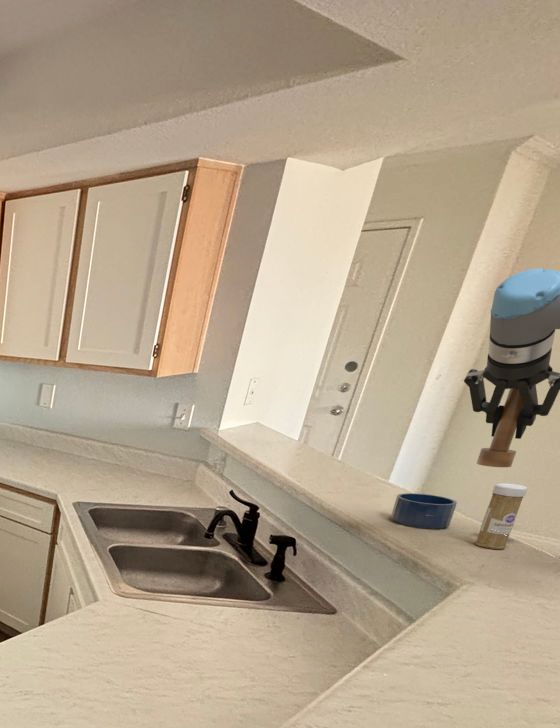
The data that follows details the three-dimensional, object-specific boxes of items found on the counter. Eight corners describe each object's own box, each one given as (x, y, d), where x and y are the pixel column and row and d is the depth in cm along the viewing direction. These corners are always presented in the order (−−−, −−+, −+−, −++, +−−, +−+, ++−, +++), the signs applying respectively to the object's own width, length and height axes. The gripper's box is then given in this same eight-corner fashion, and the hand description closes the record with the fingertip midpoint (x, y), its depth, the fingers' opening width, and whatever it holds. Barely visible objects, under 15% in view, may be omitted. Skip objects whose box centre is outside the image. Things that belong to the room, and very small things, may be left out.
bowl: (450, 522, 140) (458, 498, 138) (446, 532, 133) (455, 507, 131) (393, 514, 147) (400, 491, 145) (387, 523, 140) (394, 499, 138)
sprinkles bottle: (493, 551, 122) (516, 488, 118) (468, 543, 126) (489, 483, 122) (511, 548, 123) (534, 486, 118) (485, 541, 127) (506, 481, 123)
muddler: (511, 464, 118) (544, 369, 112) (511, 468, 115) (545, 371, 109) (476, 461, 121) (507, 368, 115) (476, 465, 118) (507, 370, 112)
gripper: (449, 365, 110) (447, 442, 124) (579, 367, 97) (560, 452, 111) (466, 334, 111) (462, 414, 125) (596, 332, 98) (575, 421, 112)
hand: (508, 432), depth 118 cm, fingers closed on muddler, 3 cm apart
